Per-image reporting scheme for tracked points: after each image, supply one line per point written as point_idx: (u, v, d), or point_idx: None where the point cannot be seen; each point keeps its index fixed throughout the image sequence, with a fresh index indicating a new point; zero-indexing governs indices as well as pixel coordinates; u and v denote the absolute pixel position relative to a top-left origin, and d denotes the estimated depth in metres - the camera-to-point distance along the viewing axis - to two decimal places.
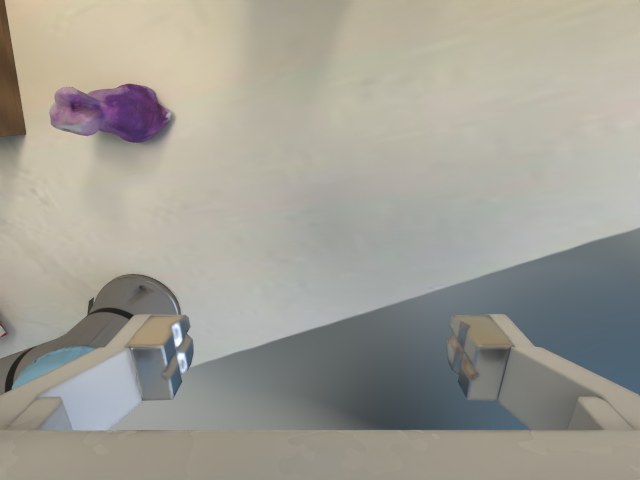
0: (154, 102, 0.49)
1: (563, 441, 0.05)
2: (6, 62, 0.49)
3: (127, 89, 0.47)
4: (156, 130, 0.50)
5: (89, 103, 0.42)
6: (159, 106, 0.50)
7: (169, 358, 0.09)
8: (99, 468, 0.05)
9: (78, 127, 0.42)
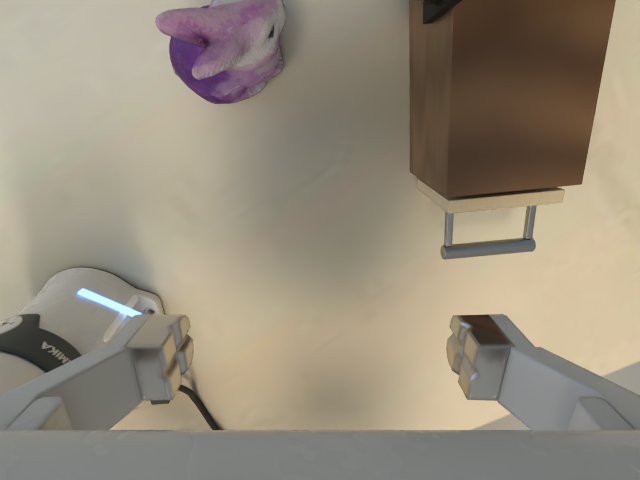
0: None
1: (563, 441, 0.05)
2: (413, 87, 0.35)
3: (214, 94, 0.31)
4: None
5: None
6: None
7: (169, 358, 0.09)
8: (99, 468, 0.05)
9: (212, 4, 0.23)
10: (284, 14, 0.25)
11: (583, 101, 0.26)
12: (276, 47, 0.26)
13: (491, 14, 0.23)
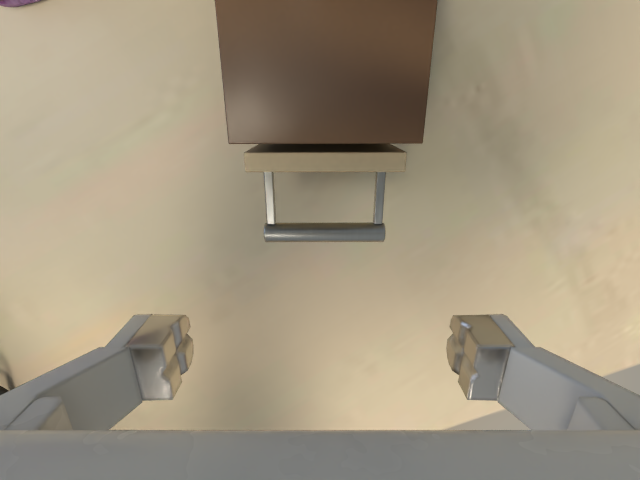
0: None
1: (563, 441, 0.05)
2: None
3: None
4: None
5: None
6: None
7: (169, 358, 0.09)
8: (99, 468, 0.05)
9: None
10: None
11: (415, 10, 0.17)
12: None
13: None
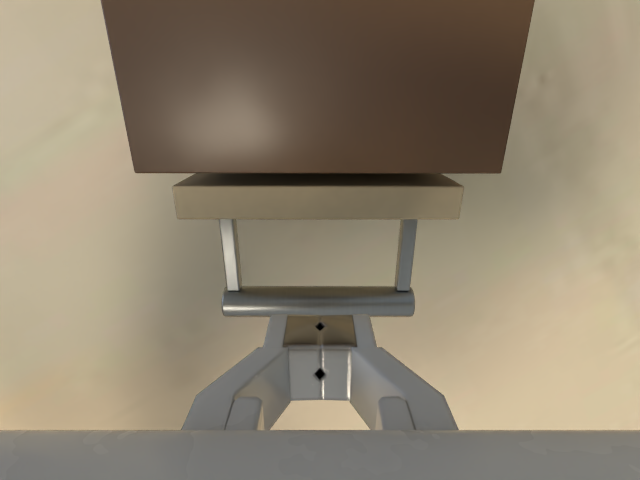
0: None
1: (563, 441, 0.05)
2: None
3: None
4: None
5: None
6: None
7: None
8: (99, 468, 0.05)
9: None
10: None
11: None
12: None
13: None
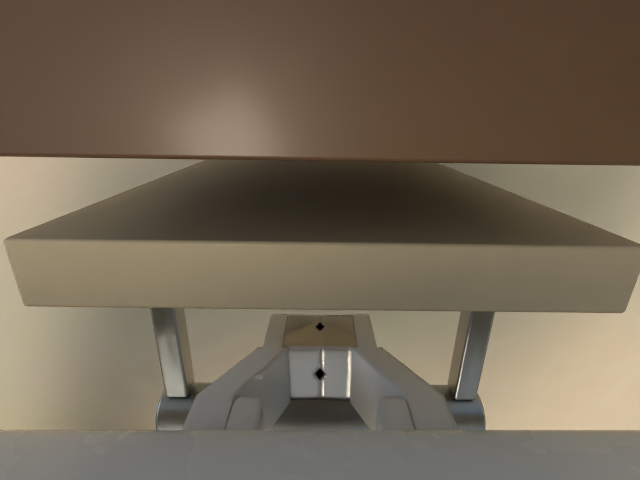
0: None
1: (563, 441, 0.05)
2: None
3: None
4: None
5: None
6: None
7: None
8: (99, 468, 0.05)
9: None
10: None
11: None
12: None
13: None
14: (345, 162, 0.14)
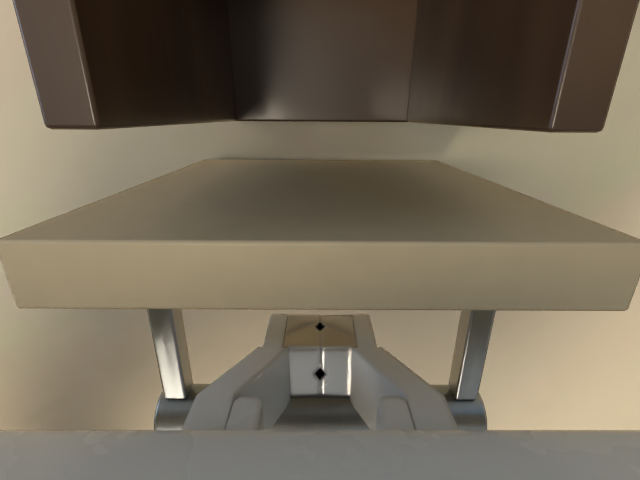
0: None
1: (563, 441, 0.05)
2: None
3: None
4: None
5: None
6: None
7: None
8: (99, 468, 0.05)
9: None
10: None
11: None
12: None
13: None
14: (344, 161, 0.14)
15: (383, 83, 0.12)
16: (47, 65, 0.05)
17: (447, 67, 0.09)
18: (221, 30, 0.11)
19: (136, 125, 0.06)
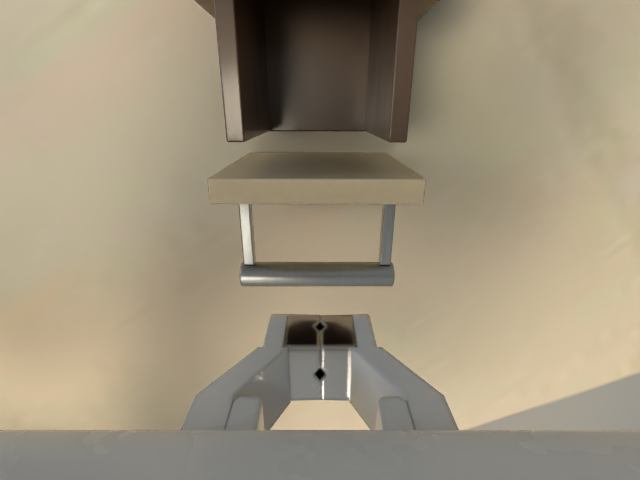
0: None
1: (563, 441, 0.05)
2: None
3: None
4: None
5: None
6: None
7: None
8: (99, 468, 0.05)
9: None
10: None
11: None
12: None
13: None
14: (331, 153, 0.24)
15: (351, 110, 0.22)
16: (230, 122, 0.15)
17: (374, 109, 0.19)
18: (265, 85, 0.21)
19: (248, 139, 0.16)
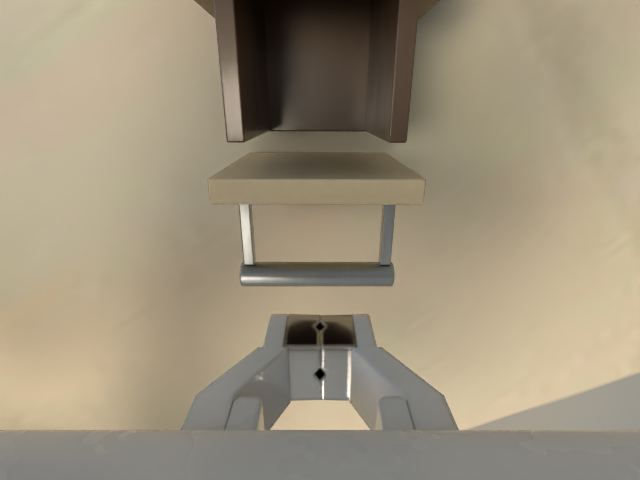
0: None
1: (563, 441, 0.05)
2: None
3: None
4: None
5: None
6: None
7: None
8: (99, 468, 0.05)
9: None
10: None
11: None
12: None
13: None
14: (331, 153, 0.24)
15: (351, 110, 0.22)
16: (231, 122, 0.15)
17: (374, 109, 0.19)
18: (265, 85, 0.21)
19: (248, 139, 0.16)
